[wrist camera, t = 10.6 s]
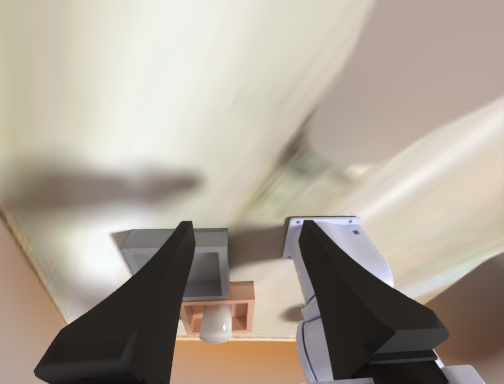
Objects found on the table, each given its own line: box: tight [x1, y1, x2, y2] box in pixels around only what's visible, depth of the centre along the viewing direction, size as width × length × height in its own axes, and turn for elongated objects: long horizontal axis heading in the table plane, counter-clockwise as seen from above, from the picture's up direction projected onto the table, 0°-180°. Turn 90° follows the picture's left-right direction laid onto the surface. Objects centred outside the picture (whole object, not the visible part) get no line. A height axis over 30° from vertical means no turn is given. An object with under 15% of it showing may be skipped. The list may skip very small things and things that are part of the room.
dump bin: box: [180, 281, 255, 335], centre depth 34 cm, size 12×12×3 cm
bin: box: [120, 228, 230, 301], centre depth 27 cm, size 12×12×3 cm
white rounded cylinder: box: [199, 304, 233, 344], centre depth 33 cm, size 5×5×5 cm
